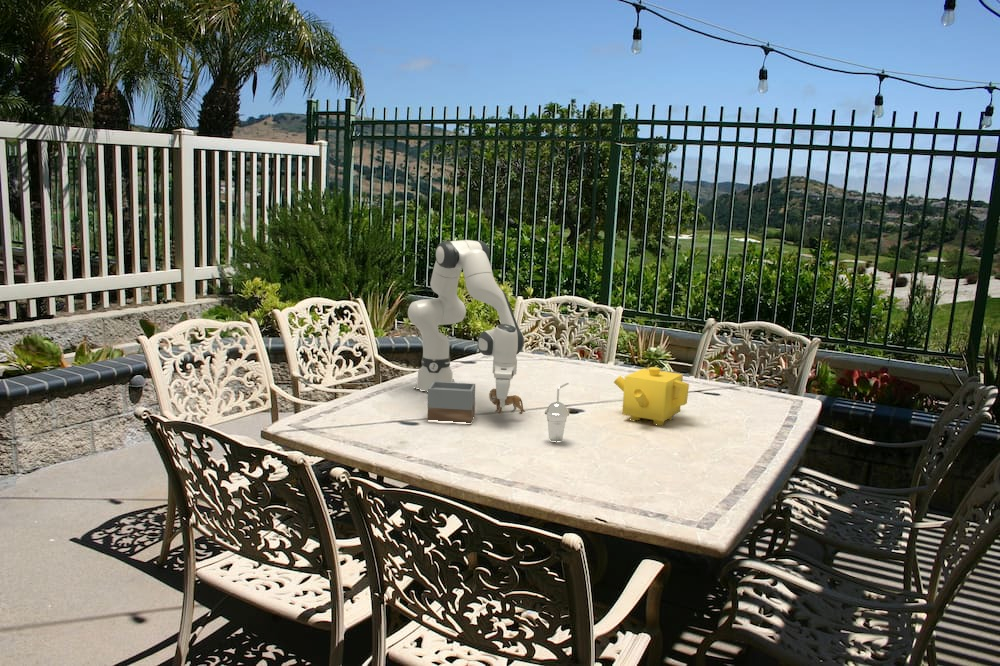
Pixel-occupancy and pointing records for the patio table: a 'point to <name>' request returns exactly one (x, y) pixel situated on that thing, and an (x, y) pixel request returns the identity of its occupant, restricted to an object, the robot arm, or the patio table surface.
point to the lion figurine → (506, 402)
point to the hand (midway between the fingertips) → (502, 405)
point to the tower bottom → (451, 414)
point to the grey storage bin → (451, 395)
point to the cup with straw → (556, 418)
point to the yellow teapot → (652, 394)
